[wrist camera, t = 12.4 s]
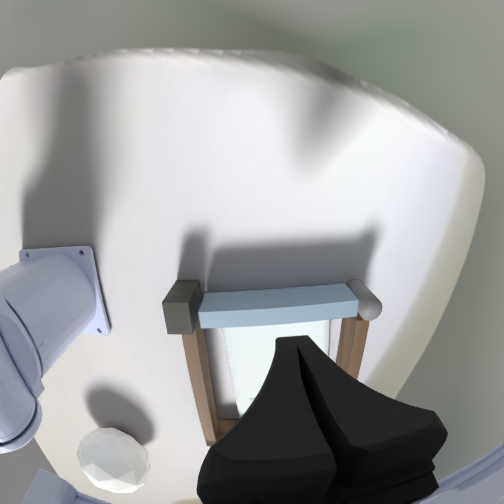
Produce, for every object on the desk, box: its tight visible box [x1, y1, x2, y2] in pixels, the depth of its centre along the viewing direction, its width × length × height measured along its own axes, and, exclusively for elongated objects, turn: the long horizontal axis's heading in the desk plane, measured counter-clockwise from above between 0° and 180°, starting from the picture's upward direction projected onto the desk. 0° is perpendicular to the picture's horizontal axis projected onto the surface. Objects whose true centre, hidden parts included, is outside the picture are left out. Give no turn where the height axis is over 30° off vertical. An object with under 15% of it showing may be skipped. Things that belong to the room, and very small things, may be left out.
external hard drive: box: [222, 320, 330, 418], centre depth 22 cm, size 2×8×12 cm
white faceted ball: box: [77, 427, 150, 493], centre depth 22 cm, size 9×9×12 cm
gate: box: [198, 279, 382, 328], centre depth 18 cm, size 12×2×4 cm, turn 94°
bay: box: [162, 280, 369, 446], centre depth 20 cm, size 14×16×4 cm
